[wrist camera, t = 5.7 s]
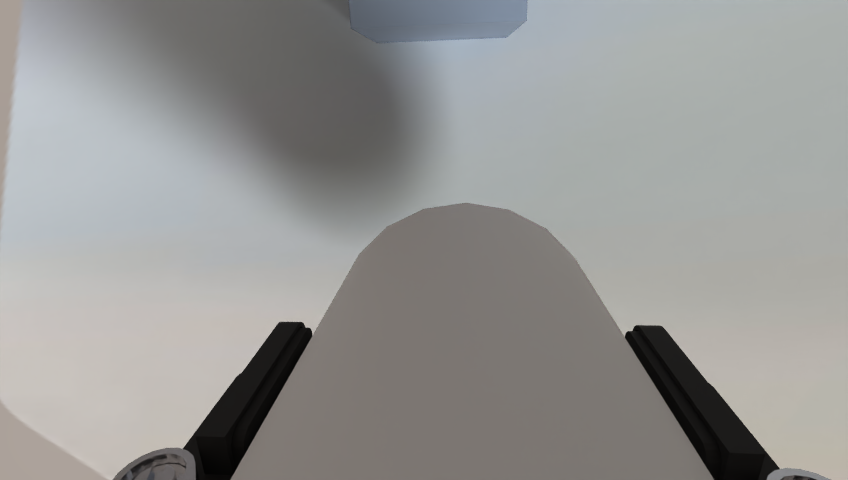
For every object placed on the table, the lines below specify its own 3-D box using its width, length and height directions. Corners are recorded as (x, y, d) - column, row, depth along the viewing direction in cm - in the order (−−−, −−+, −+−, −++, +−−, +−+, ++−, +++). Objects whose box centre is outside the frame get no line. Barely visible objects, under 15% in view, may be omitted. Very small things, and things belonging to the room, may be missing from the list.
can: (304, 328, 15) (-142, 1047, 4) (437, 142, 13) (273, 614, 2) (484, 442, 16) (537, 1274, 5) (637, 290, 14) (1400, 1214, 3)
